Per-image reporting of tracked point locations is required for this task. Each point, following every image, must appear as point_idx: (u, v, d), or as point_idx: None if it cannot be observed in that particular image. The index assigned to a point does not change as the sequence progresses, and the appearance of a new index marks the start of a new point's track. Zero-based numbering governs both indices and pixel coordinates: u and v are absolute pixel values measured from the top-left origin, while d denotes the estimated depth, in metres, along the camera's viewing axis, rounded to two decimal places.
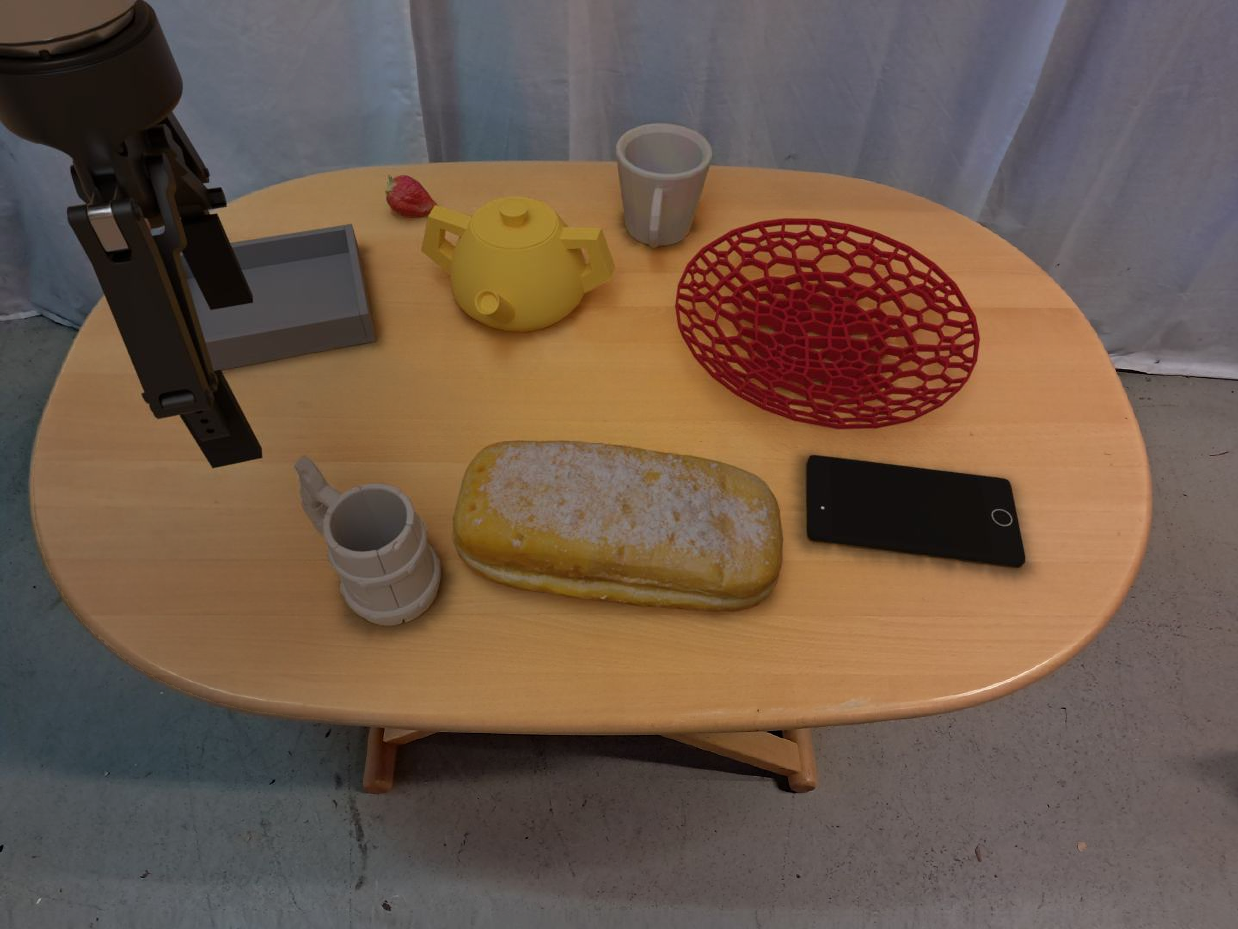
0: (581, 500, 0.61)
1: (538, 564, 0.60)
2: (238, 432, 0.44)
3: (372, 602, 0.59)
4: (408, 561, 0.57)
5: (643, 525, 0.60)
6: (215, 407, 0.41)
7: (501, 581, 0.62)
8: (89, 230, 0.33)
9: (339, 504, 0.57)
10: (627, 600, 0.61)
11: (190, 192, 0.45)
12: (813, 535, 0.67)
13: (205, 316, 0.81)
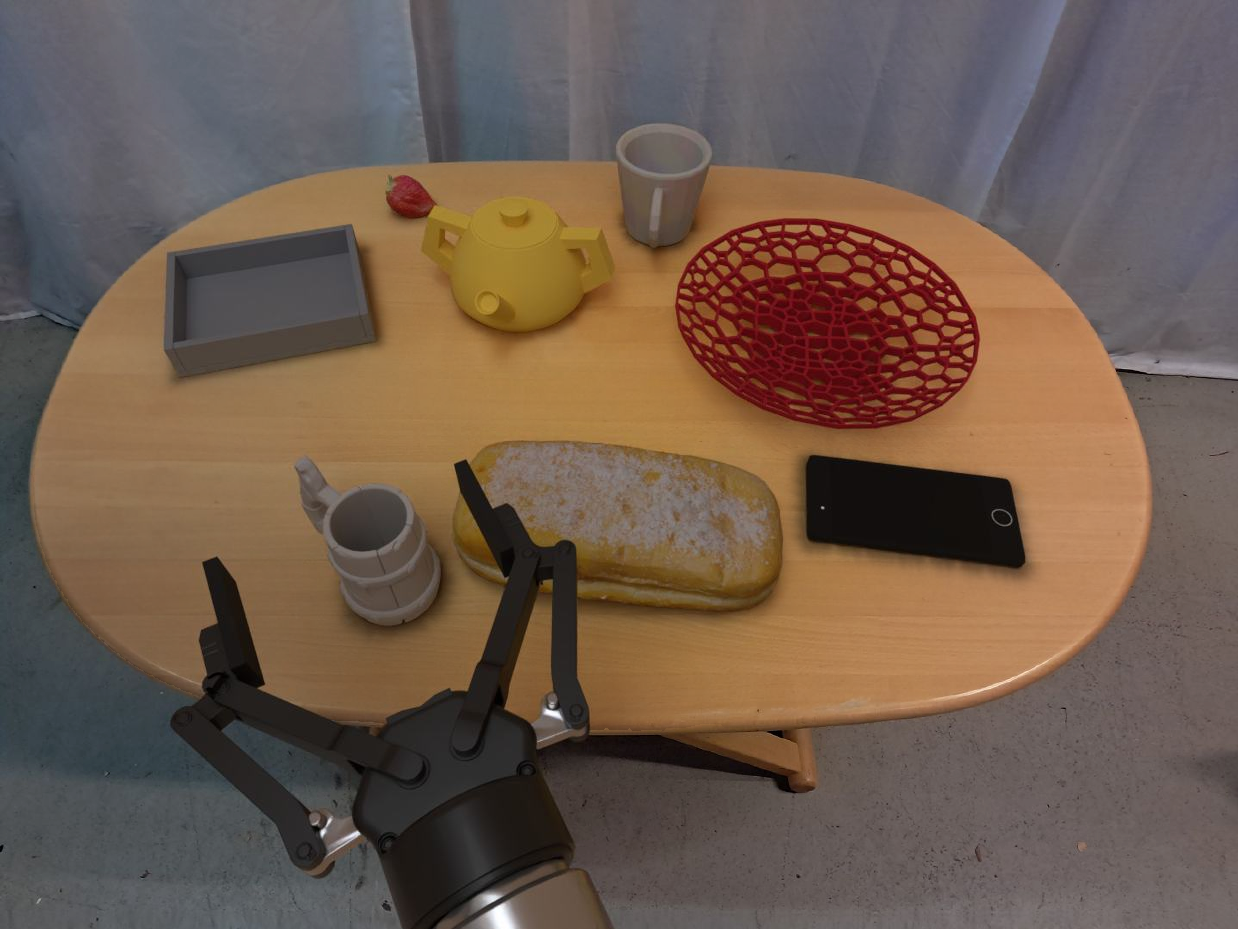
0: (581, 500, 0.61)
1: None
2: None
3: (372, 602, 0.59)
4: (408, 561, 0.57)
5: (643, 525, 0.60)
6: None
7: (501, 581, 0.62)
8: None
9: (339, 504, 0.57)
10: (627, 600, 0.61)
11: None
12: (813, 535, 0.67)
13: (205, 316, 0.81)
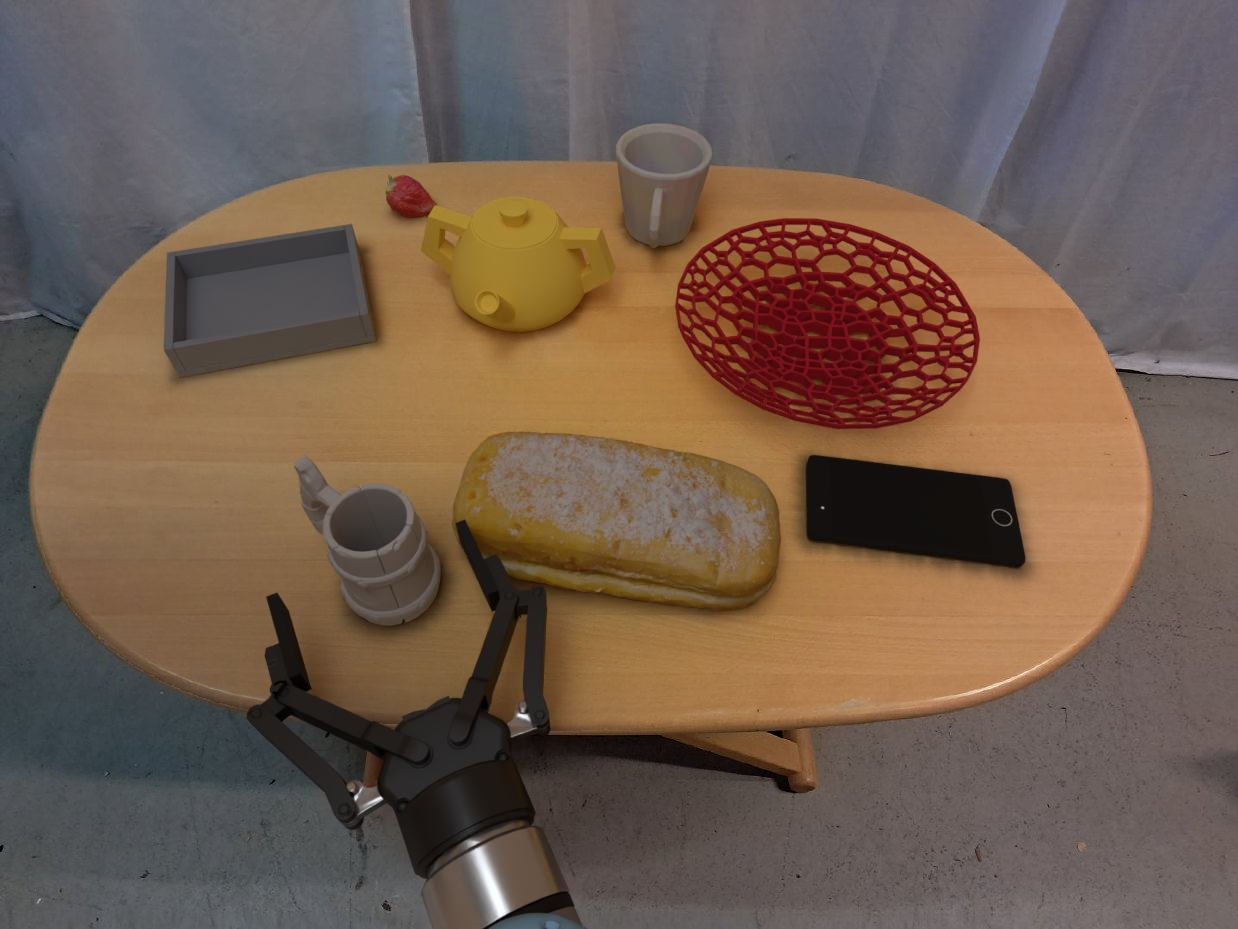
0: (580, 493, 0.61)
1: (535, 554, 0.60)
2: None
3: (372, 602, 0.59)
4: (408, 561, 0.57)
5: (640, 520, 0.60)
6: None
7: None
8: None
9: (339, 504, 0.57)
10: (621, 594, 0.61)
11: None
12: (813, 535, 0.67)
13: (205, 316, 0.81)
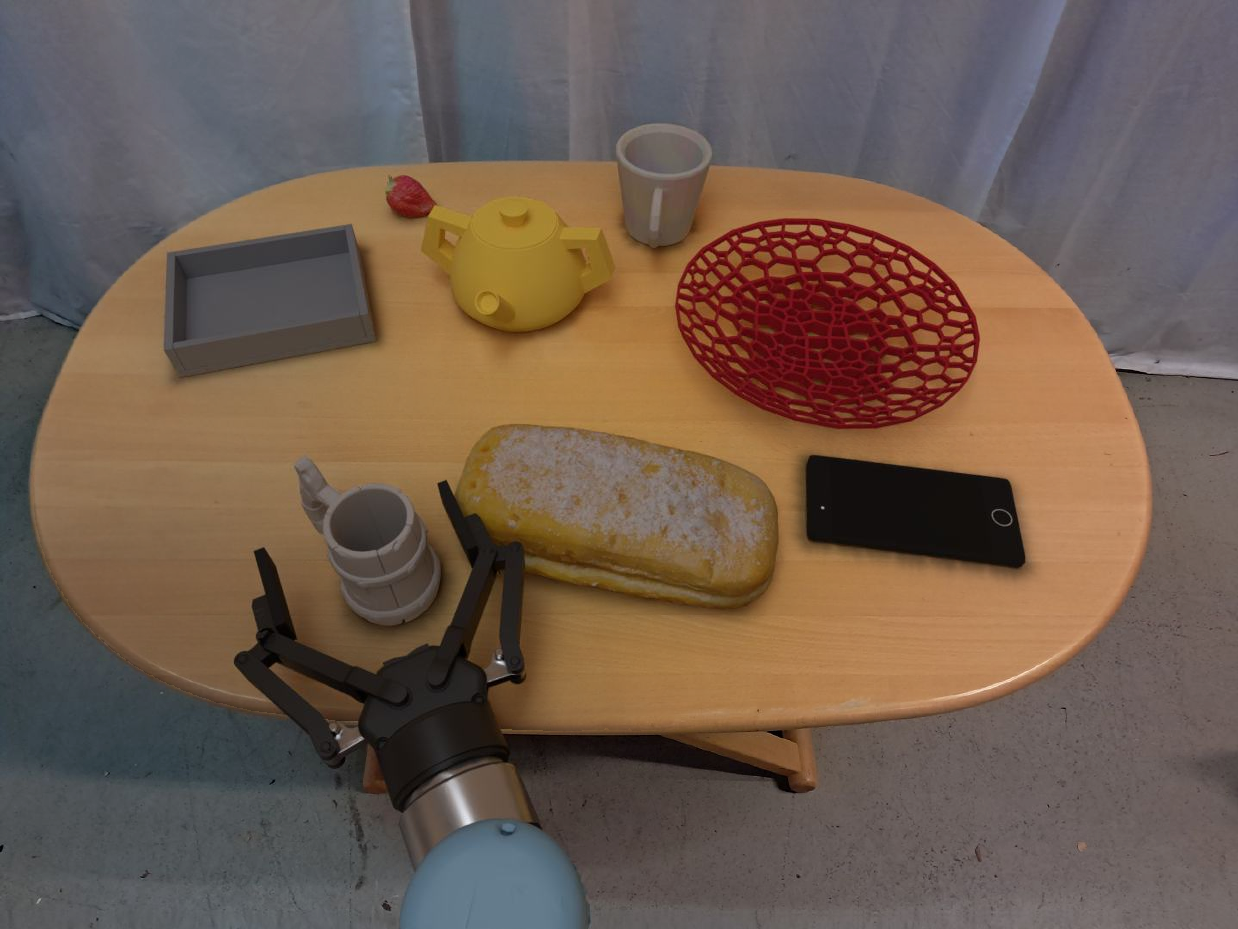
0: (579, 487, 0.61)
1: (531, 545, 0.61)
2: None
3: (372, 602, 0.59)
4: (408, 561, 0.57)
5: (637, 515, 0.60)
6: None
7: None
8: None
9: (339, 504, 0.57)
10: (616, 589, 0.62)
11: None
12: (813, 535, 0.67)
13: (205, 316, 0.81)
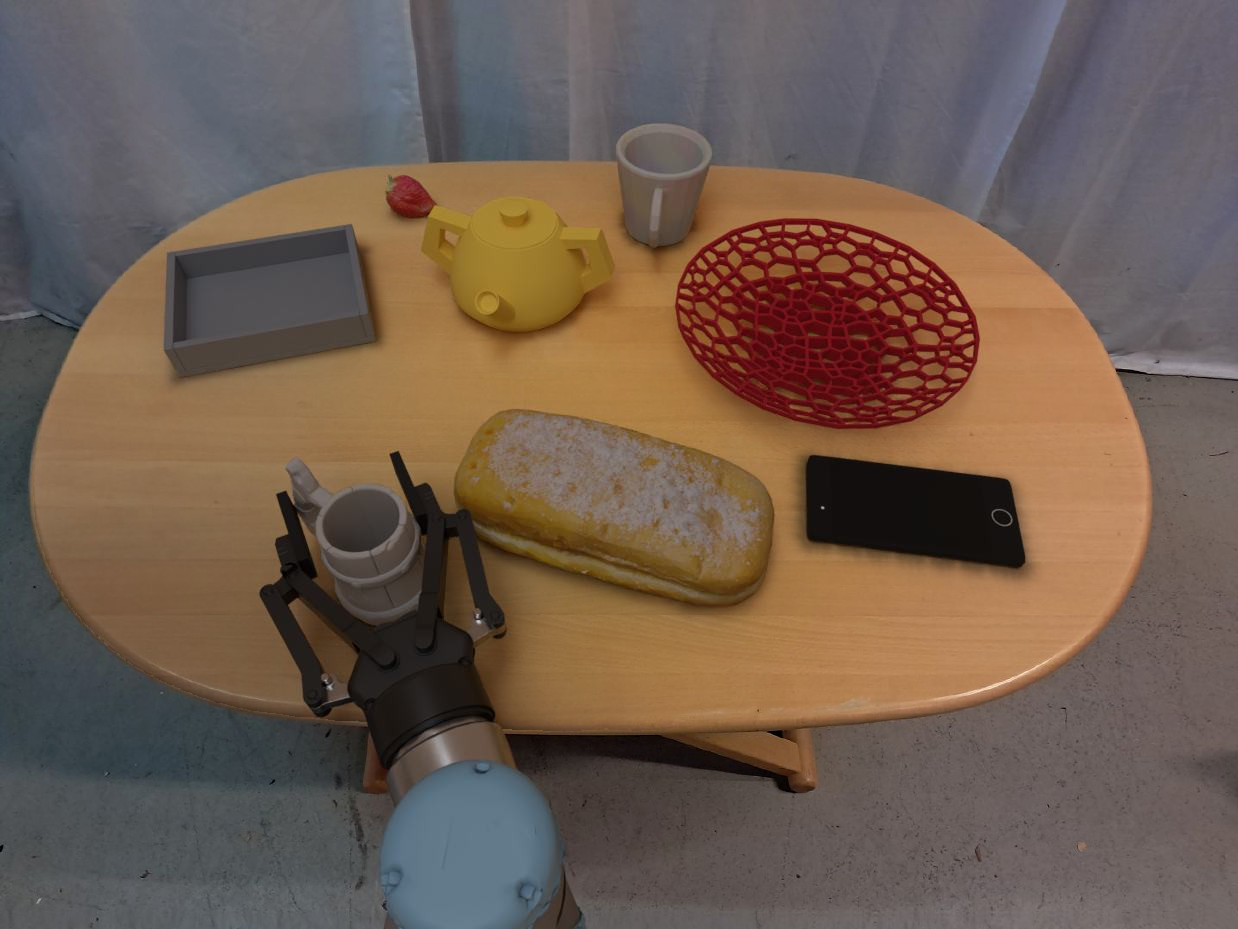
0: (576, 474, 0.62)
1: (525, 529, 0.62)
2: None
3: (367, 603, 0.59)
4: (402, 561, 0.57)
5: (631, 506, 0.61)
6: None
7: (491, 541, 0.64)
8: None
9: (331, 505, 0.57)
10: (606, 578, 0.62)
11: None
12: (813, 535, 0.67)
13: (205, 316, 0.81)
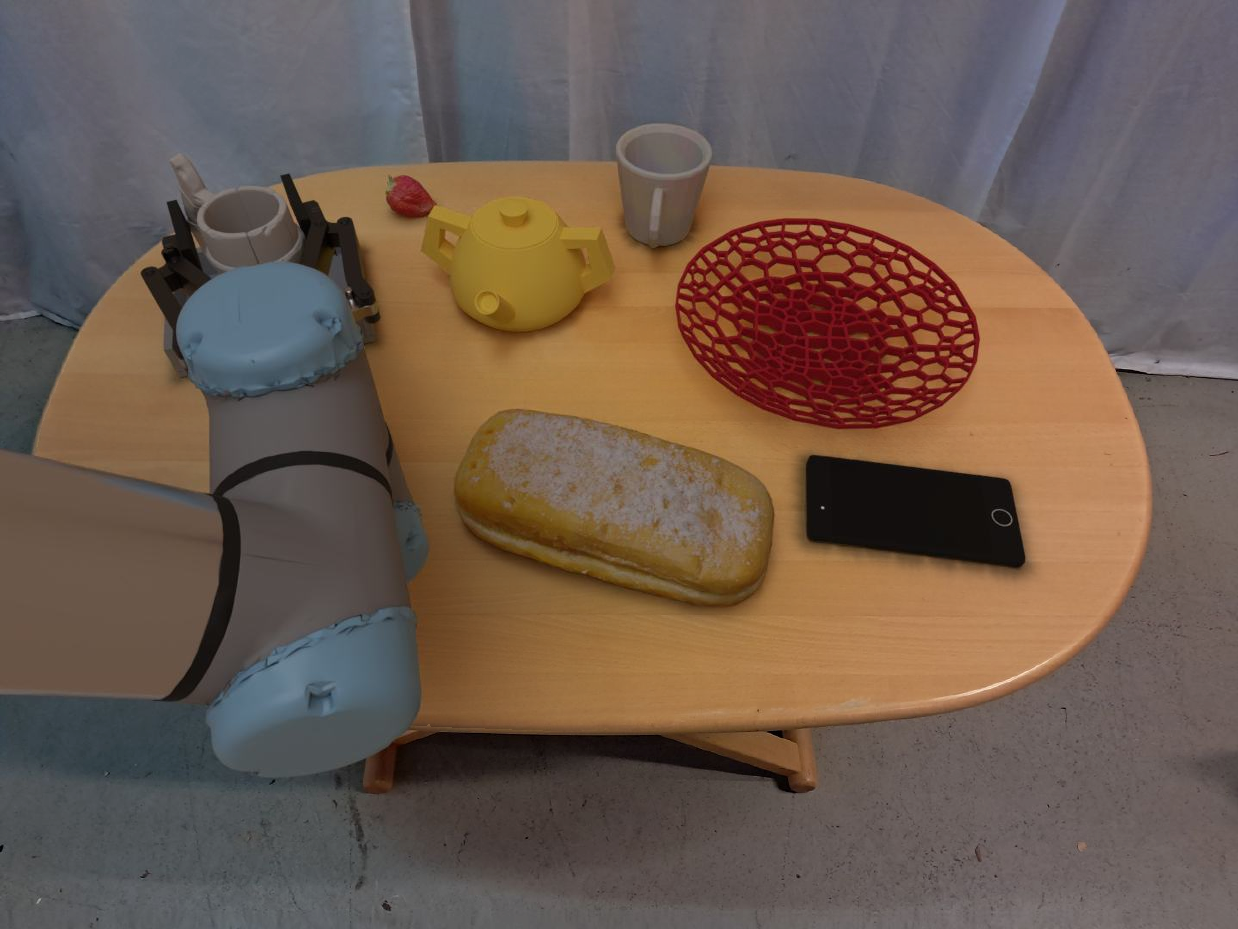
0: (576, 474, 0.62)
1: (525, 529, 0.62)
2: None
3: None
4: (282, 256, 0.60)
5: (630, 506, 0.61)
6: None
7: (491, 541, 0.64)
8: None
9: (215, 201, 0.60)
10: (606, 578, 0.62)
11: None
12: (813, 535, 0.67)
13: None
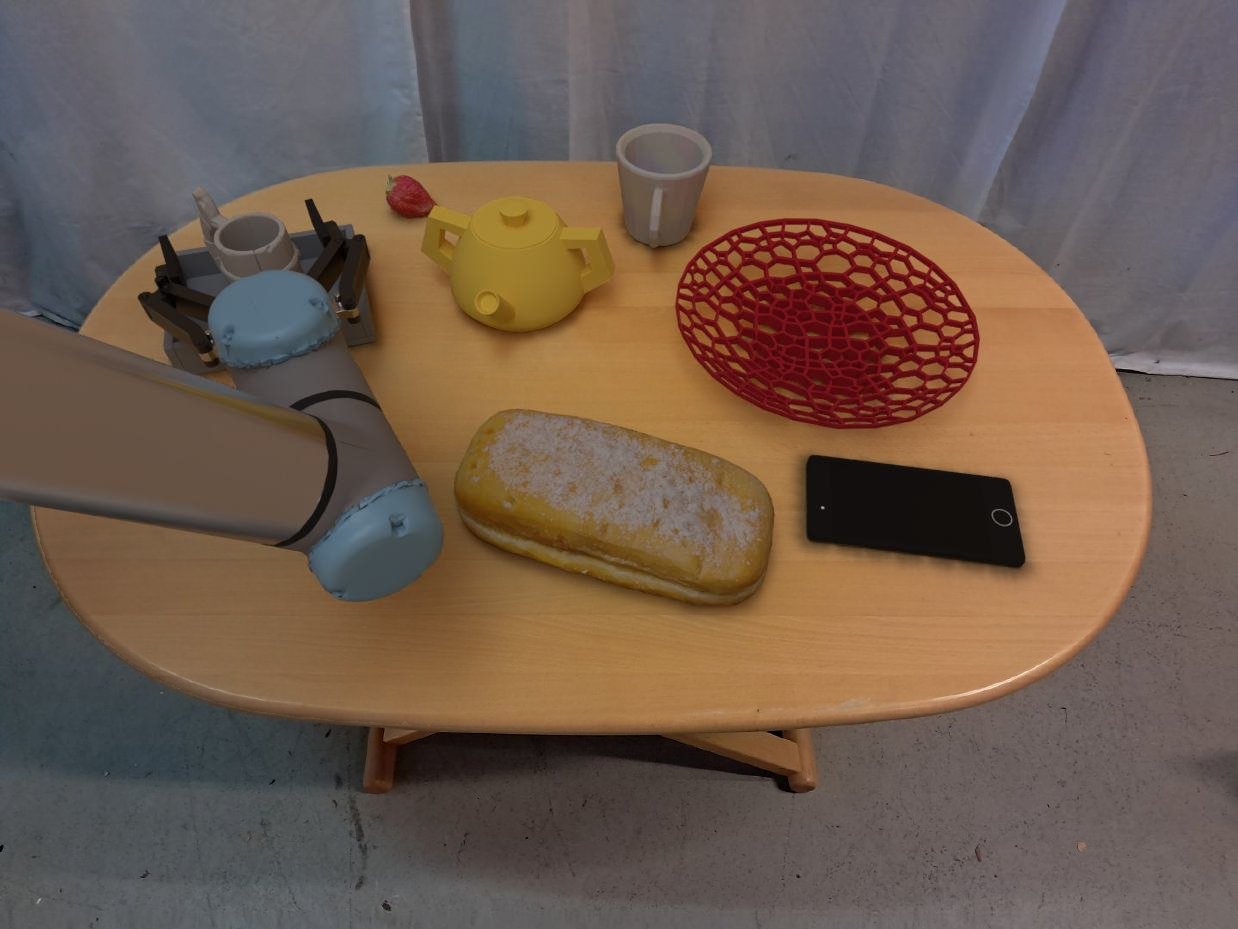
0: (576, 474, 0.62)
1: (525, 528, 0.62)
2: None
3: None
4: (282, 268, 0.75)
5: (631, 506, 0.61)
6: None
7: (491, 540, 0.64)
8: (196, 348, 0.67)
9: (228, 224, 0.75)
10: (606, 578, 0.62)
11: None
12: (813, 535, 0.67)
13: None
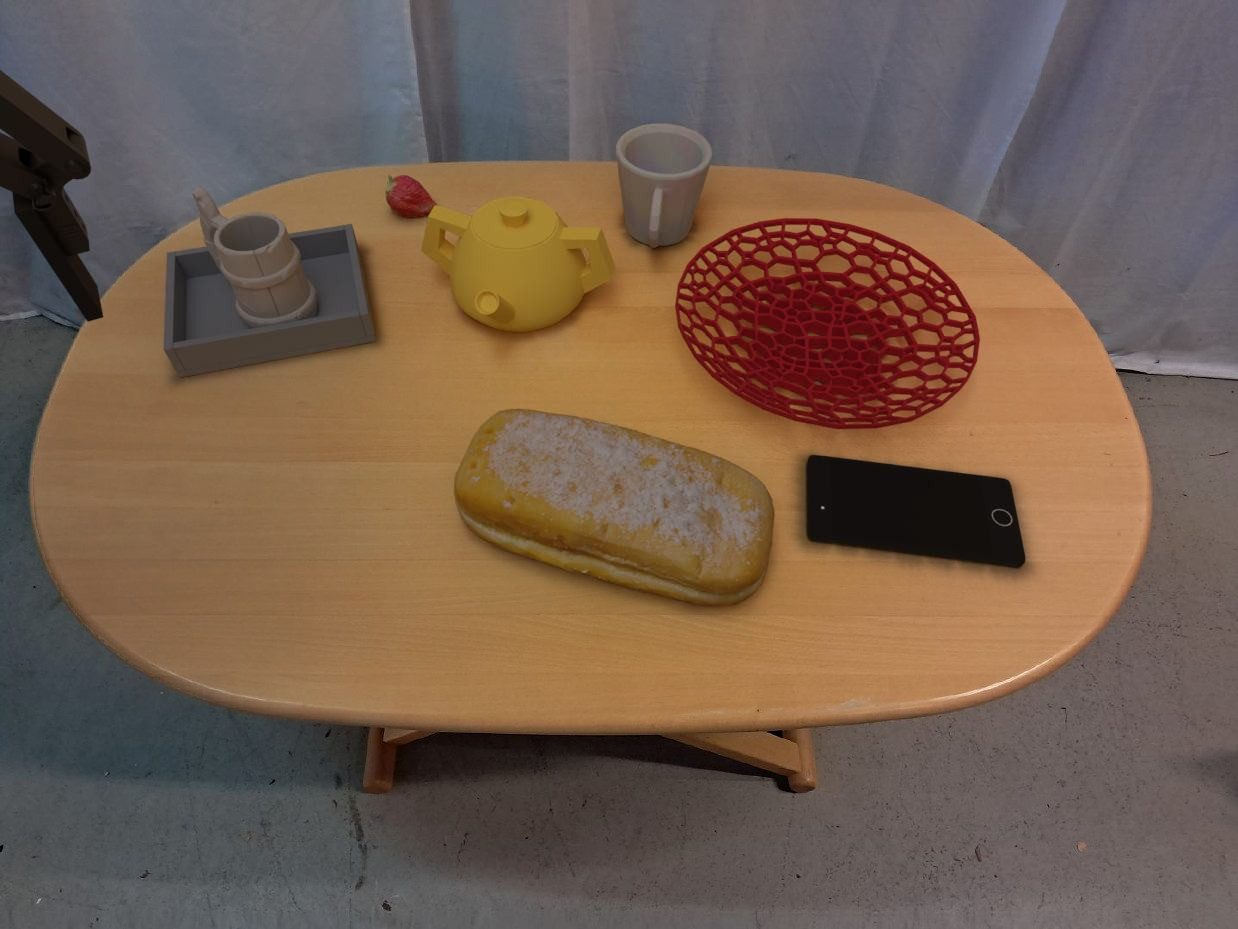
0: (576, 474, 0.62)
1: (525, 528, 0.62)
2: None
3: (257, 308, 0.77)
4: (282, 269, 0.75)
5: (631, 506, 0.61)
6: None
7: (491, 540, 0.64)
8: None
9: (228, 224, 0.75)
10: (606, 578, 0.62)
11: None
12: (813, 535, 0.67)
13: (205, 316, 0.81)
